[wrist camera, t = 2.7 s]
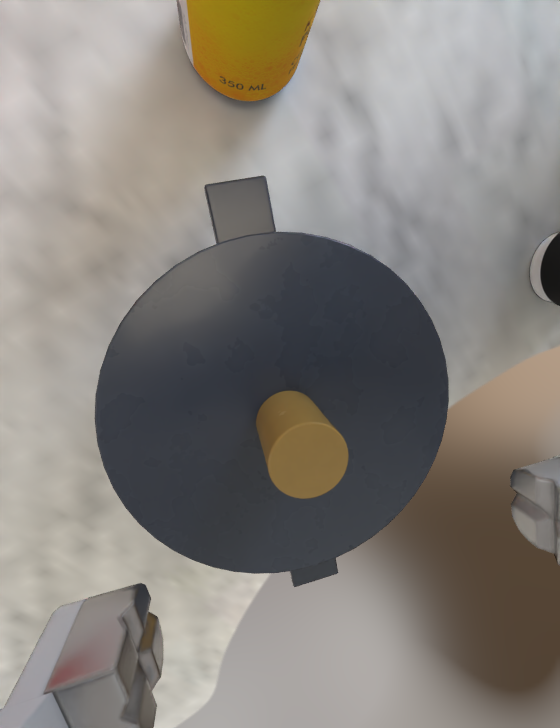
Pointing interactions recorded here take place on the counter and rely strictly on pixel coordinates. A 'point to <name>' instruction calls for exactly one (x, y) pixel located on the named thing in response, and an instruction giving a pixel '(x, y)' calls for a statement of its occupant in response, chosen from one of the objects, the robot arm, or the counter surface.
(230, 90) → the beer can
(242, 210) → the pot
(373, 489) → the pot lid
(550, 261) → the dixie cup
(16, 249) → the counter surface
